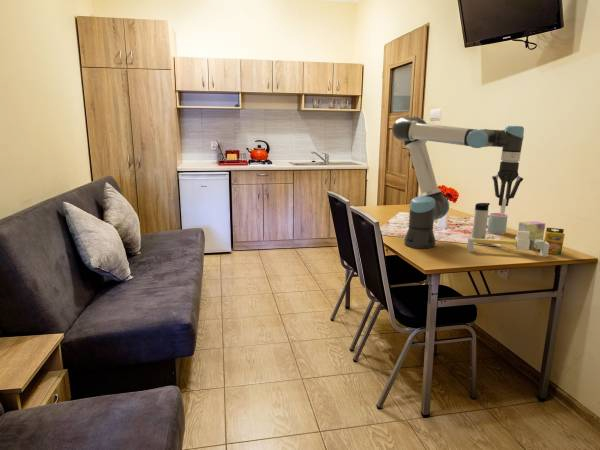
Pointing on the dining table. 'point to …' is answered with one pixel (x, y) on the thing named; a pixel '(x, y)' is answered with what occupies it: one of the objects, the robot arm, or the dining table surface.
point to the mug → (497, 223)
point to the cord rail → (537, 244)
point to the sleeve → (522, 240)
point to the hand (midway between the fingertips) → (502, 212)
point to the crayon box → (554, 240)
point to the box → (533, 229)
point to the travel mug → (480, 220)
